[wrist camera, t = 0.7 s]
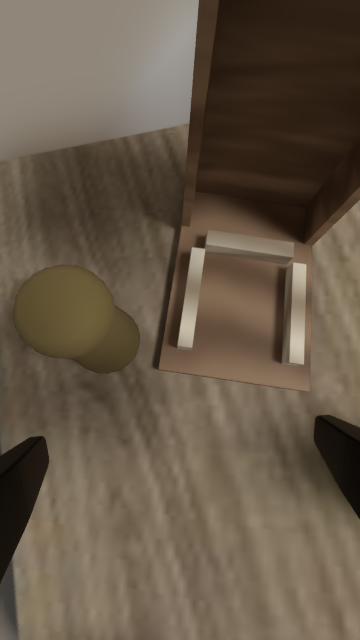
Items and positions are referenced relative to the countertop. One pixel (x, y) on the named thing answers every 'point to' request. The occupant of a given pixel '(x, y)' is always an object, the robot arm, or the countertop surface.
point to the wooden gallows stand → (262, 184)
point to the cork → (75, 319)
